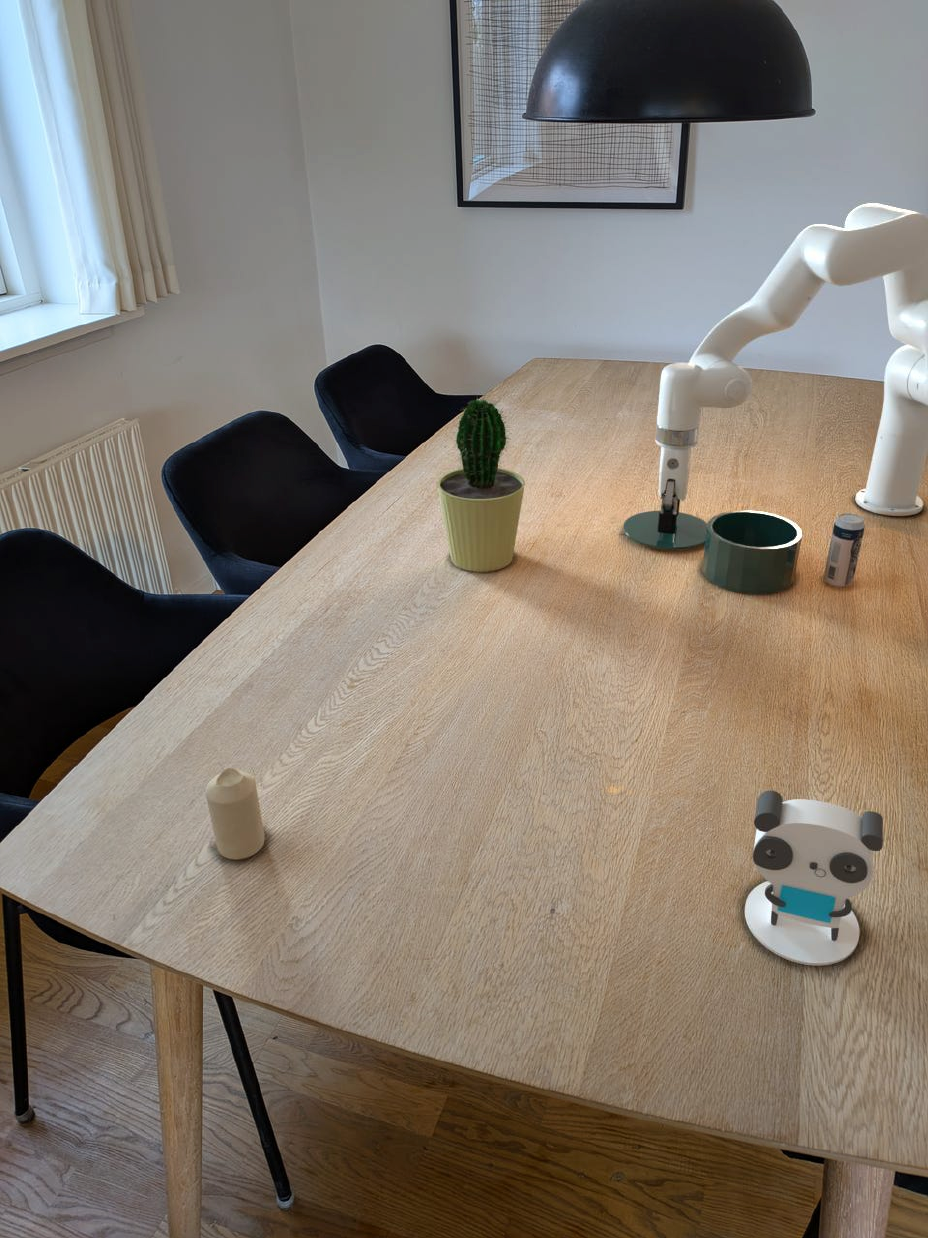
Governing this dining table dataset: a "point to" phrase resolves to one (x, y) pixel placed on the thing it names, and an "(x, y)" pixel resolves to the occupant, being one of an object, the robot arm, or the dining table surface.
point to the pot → (751, 552)
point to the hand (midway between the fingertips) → (668, 523)
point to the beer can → (844, 550)
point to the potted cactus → (481, 494)
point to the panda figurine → (810, 877)
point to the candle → (235, 814)
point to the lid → (685, 536)
